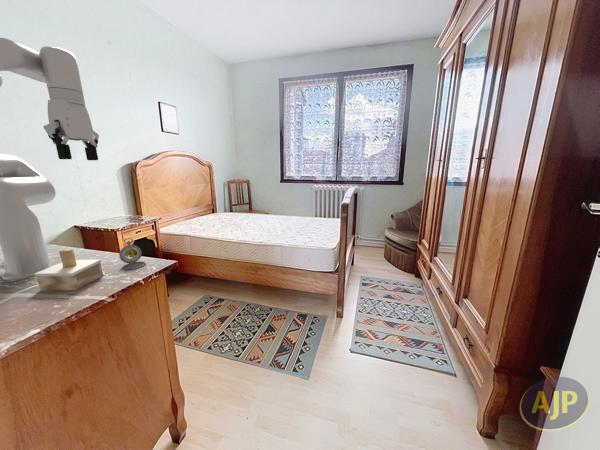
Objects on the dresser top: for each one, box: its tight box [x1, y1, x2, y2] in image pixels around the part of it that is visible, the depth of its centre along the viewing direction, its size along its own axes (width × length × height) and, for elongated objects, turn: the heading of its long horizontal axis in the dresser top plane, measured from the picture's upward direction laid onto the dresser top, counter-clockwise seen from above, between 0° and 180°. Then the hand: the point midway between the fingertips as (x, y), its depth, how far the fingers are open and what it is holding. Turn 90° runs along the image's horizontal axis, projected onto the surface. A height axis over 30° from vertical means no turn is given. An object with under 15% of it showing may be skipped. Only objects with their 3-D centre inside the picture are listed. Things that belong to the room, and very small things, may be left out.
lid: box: [34, 248, 102, 277], centre depth 73 cm, size 10×10×6 cm
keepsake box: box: [36, 262, 104, 292], centre depth 74 cm, size 10×10×5 cm
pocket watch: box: [118, 237, 146, 271], centre depth 86 cm, size 8×8×10 cm
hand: (80, 159), depth 75 cm, fingers open, 9 cm apart
